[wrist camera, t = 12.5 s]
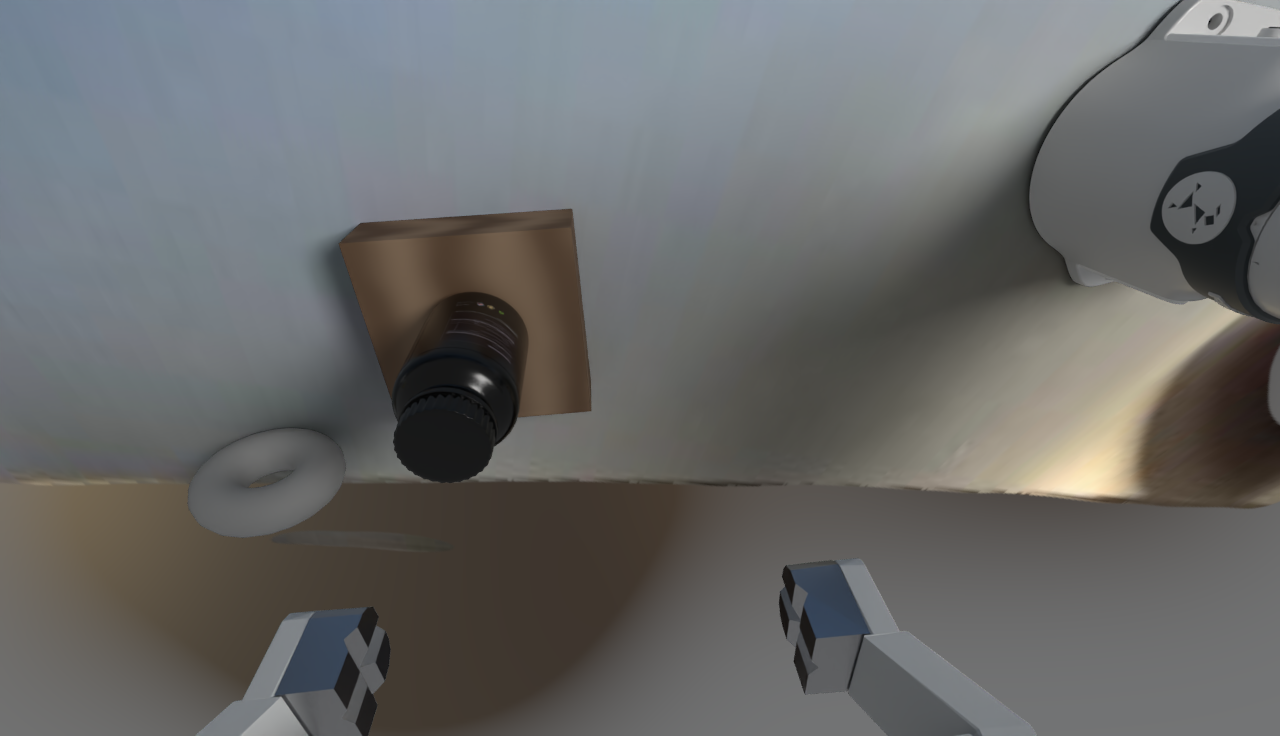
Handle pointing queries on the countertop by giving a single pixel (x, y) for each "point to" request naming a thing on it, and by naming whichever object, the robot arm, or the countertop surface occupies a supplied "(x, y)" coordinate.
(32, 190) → the countertop surface
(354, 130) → the countertop surface
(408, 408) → the supplement bottle
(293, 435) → the donut
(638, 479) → the countertop surface
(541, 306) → the walnut base
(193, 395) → the countertop surface
